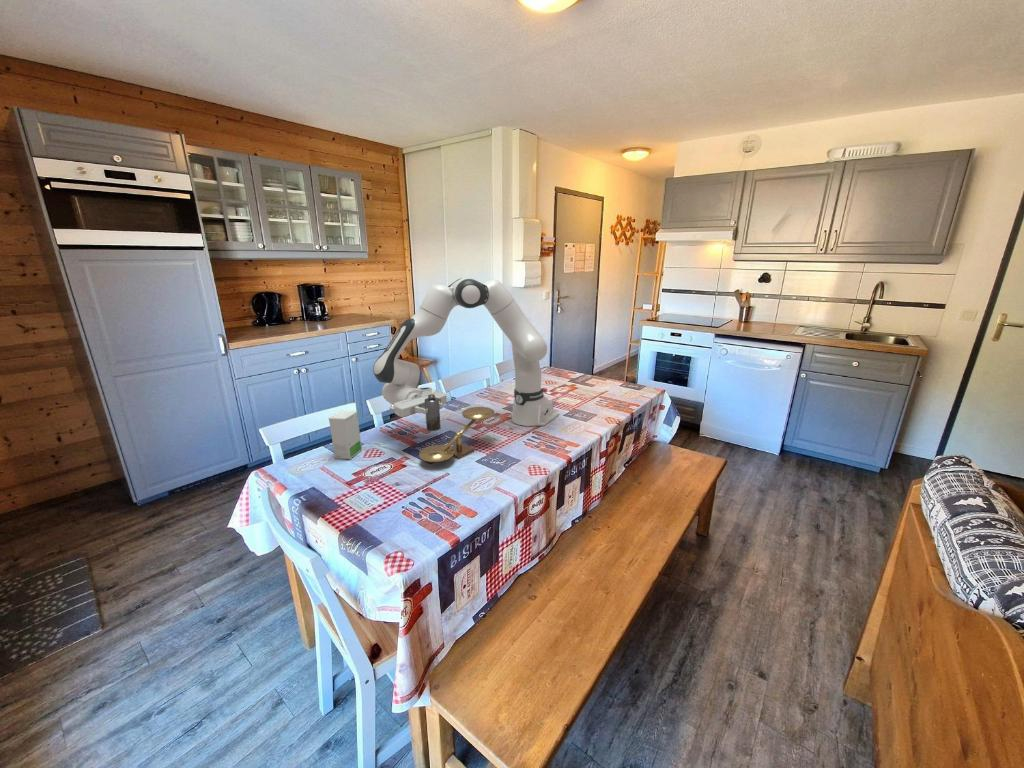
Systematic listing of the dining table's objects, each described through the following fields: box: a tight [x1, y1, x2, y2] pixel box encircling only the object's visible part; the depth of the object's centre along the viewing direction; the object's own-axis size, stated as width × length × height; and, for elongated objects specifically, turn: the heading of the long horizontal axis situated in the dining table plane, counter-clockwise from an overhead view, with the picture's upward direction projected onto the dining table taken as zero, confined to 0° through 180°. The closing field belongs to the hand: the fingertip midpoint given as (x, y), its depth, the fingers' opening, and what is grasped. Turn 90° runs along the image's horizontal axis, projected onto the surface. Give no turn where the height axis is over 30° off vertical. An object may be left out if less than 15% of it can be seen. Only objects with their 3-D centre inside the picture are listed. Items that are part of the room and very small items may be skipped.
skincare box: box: [328, 410, 363, 460], centre depth 146 cm, size 8×7×16 cm
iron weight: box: [425, 394, 442, 432], centre depth 146 cm, size 5×5×12 cm
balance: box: [418, 406, 495, 463], centre depth 148 cm, size 32×12×13 cm, turn 138°
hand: (433, 409), depth 145 cm, fingers closed on iron weight, 5 cm apart
